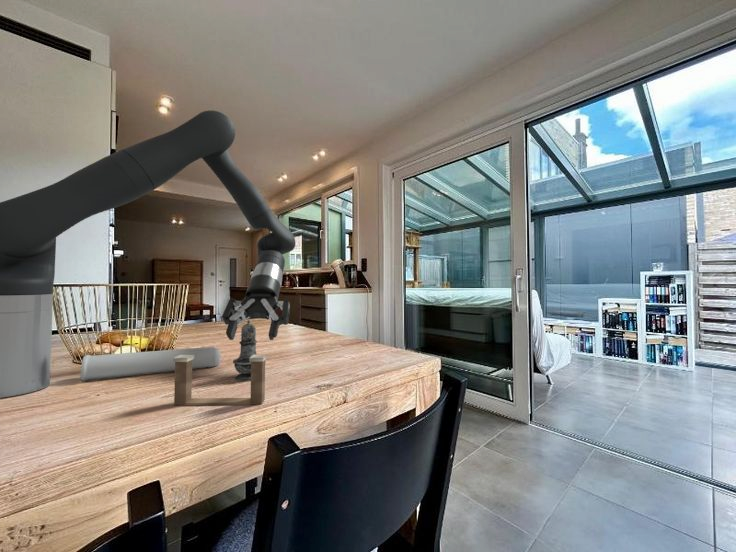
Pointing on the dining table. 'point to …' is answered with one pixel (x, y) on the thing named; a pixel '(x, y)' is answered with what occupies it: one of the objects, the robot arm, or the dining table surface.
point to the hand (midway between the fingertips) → (250, 337)
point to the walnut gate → (185, 390)
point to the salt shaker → (246, 352)
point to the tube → (144, 362)
